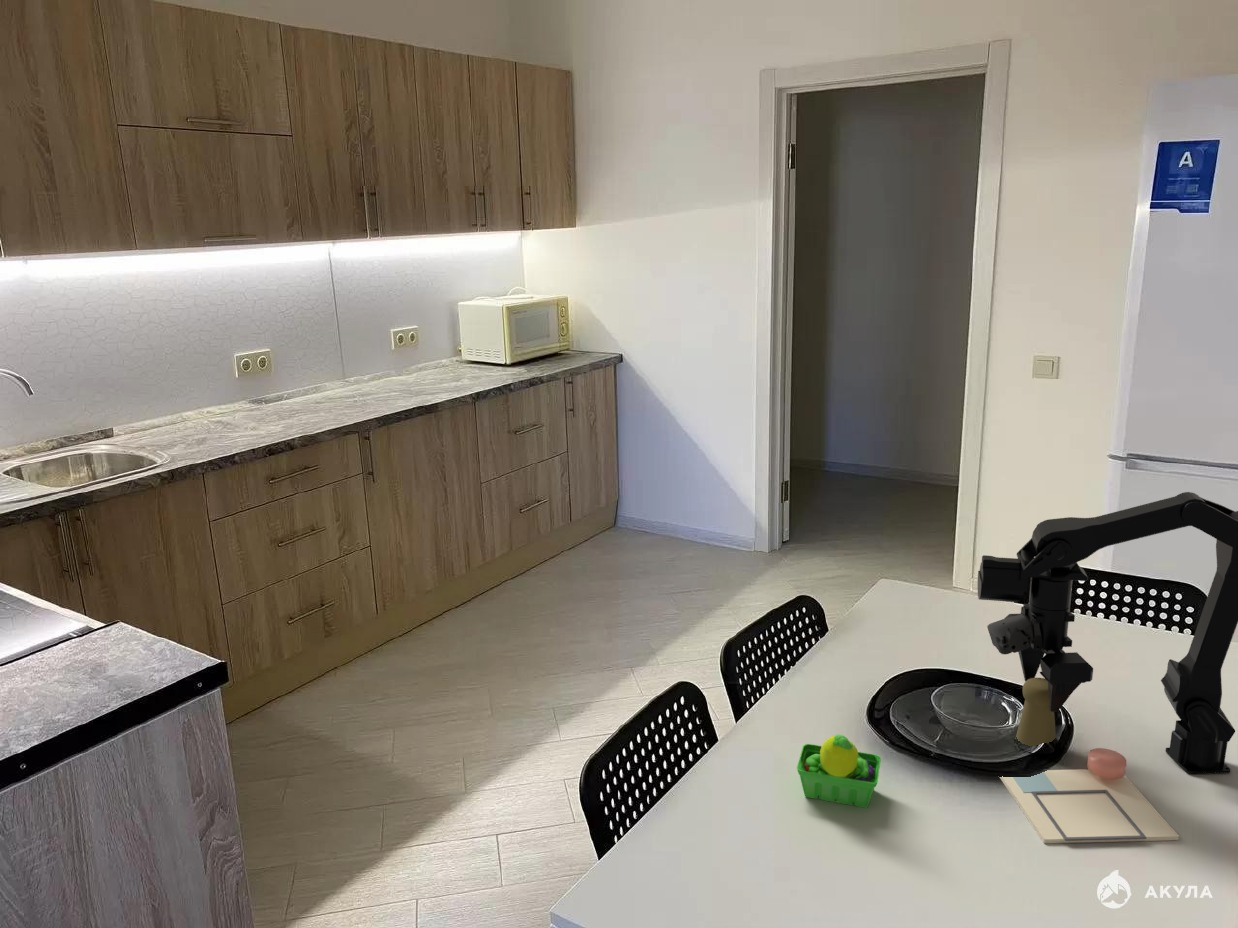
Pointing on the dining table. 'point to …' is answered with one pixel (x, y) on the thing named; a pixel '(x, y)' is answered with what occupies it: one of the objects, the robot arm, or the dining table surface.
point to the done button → (1106, 763)
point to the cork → (1036, 714)
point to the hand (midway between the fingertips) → (1040, 696)
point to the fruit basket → (838, 772)
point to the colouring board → (1086, 808)
